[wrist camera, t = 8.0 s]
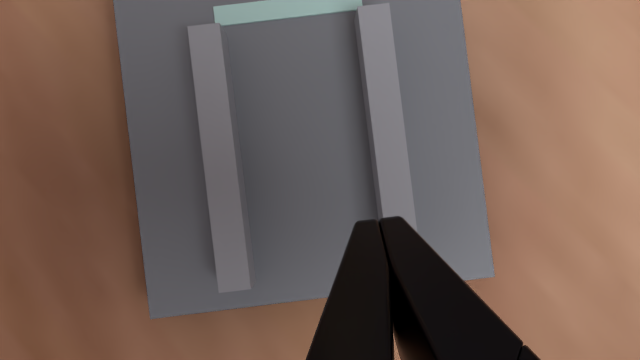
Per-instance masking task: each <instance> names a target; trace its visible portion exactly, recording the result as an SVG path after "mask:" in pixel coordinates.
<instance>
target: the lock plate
mask: <svg viewBox="0 0 640 360" xmlns="http://www.w3.org/2000/svg"><path fill="white" fill-rule="evenodd" d="M113 3H114V12H115V21H116V29H117V38H118V46H119V55H120V64H121V72H122V81H123V89H124V98H125V107H126V115H127V124H128V133H129V141H130V150H131V158H132V167H133V176H134V184H135V193H136V201H137V210H138V219H139V227H140V236H141V245H142V253H143V262H144V270H145V279H146V288H147V296H148V305H149V313H150V319H155V318H163V317H171V316H180V315H188V314H196V313H204V312H212V311H220V310H228V309H237V308H245V307H253V306H261V305H269V304H277V303H285V302H293V301H302V300H310V299H318V298H326V297H328V296H329V293H330V291H331V288H332V285H333V282H334V279H335V277H336V274H337V271H338V268H339V266H340V263H341V260H342V257H343V254H344V252H345V249H346V246H347V243H348V241H349V238H350V235H351V232H352V229H353V227H354V224H355V223H356V222H357V221H359V220H367V219H377V220H378V222H379V220H380V219H381V218H384V217H392V216H401V217H403V218H404V219H405V220H406V221H407V222H408V224H409V225H410V226H411V227H412V228H413V229H414V230H415V231H416V232H417V233H418V234H419V235H420V236H421V237H422V238H423V239H424V240H425V241H426V242H427V243H428V244H429V245H430V246H431V247H432V248H433V249H434V250H435V251H436V252H437V253H438V255H439V256H440V257H441V258H442V259H443V260H444V261H445V262H446V263H447V264H448V265H449V266H450V267H451V268H452V269H453V270H454V271H455V272H456V273H457V274H458V275H459V276H460V277H461V278H462V279H463V280H472V279H481V278H489V277H495V274H494V266H493V258H492V250H491V242H490V234H489V226H488V218H487V210H486V202H485V194H484V186H483V178H482V170H481V162H480V154H479V146H478V138H477V130H476V122H475V114H474V106H473V98H472V90H471V82H470V74H469V66H468V58H467V50H466V42H465V34H464V26H463V18H462V10H461V2H460V0H113Z"/></svg>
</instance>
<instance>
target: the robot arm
mask: <svg viewBox="0 0 640 360" xmlns="http://www.w3.org/2000/svg"><path fill="white" fill-rule="evenodd" d="M393 333H394V337H395V341H396V345H397V348H398V352H399V355H400V359H401V360H540V359H539V358H538V357H537V356H536V355H535V354H534V353H533V351H532V350H531V349H530V348H529V347H528V346H526V345H524V346H523V342H522V340H521V339H520V338H519V337H518V336H517V335H516V334H515V333H514V332H513V331H512V330H511V329H510V328H509V327H508V326H507V325H506V324H505V323H504V322H503V321H502V320H501V319H500V318H499V317H498V316H497V314H496V313H495V312H494V311H493V310H492V309H491V308H490V307H489V306H488V305H487V304H486V303H485V302H484V301H483V300H482V299H481V298H480V297H479V296H478V295H477V294H476V293H475V292H474V291H473V290H472V289H471V288H470V287H469V286H468V285H467V283H466V282H465V281H464V280H463V279H462V278H461V277H460V276H459V275H458V274H457V273H456V272H455V271H454V270H453V269H452V268H451V267H450V266H449V265H448V264H447V263H446V262H445V261H444V260H443V259H442V258H441V257H440V256H439V255H438V253H437V252H436V251H435V250H434V249H433V248H432V247H431V246H430V245H429V244H428V243H427V242H426V241H425V240H424V239H423V238H422V237H421V236H420V235H419V234H418V233H417V232H416V231H415V230H414V229H413V228H412V227H411V226H410V225H409V224H408V222H407V221H406V220H405V219H404V218H403V217H401V216H392V217H384V218H381V219H380V220H379V222H378V220H377V219H367V220H359V221H357V222H356V223H355V224H354V227H353V229H352V232H351V235H350V238H349V241H348V243H347V246H346V249H345V252H344V254H343V257H342V260H341V263H340V266H339V268H338V271H337V274H336V277H335V279H334V282H333V285H332V288H331V291H330V293H329V296H328V299H327V302H326V305H325V307H324V310H323V313H322V316H321V318H320V321H319V324H318V327H317V330H316V332H315V335H314V338H313V341H312V343H311V346H310V349H309V352H308V355H307V357H306V360H394V340H393Z"/></svg>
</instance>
